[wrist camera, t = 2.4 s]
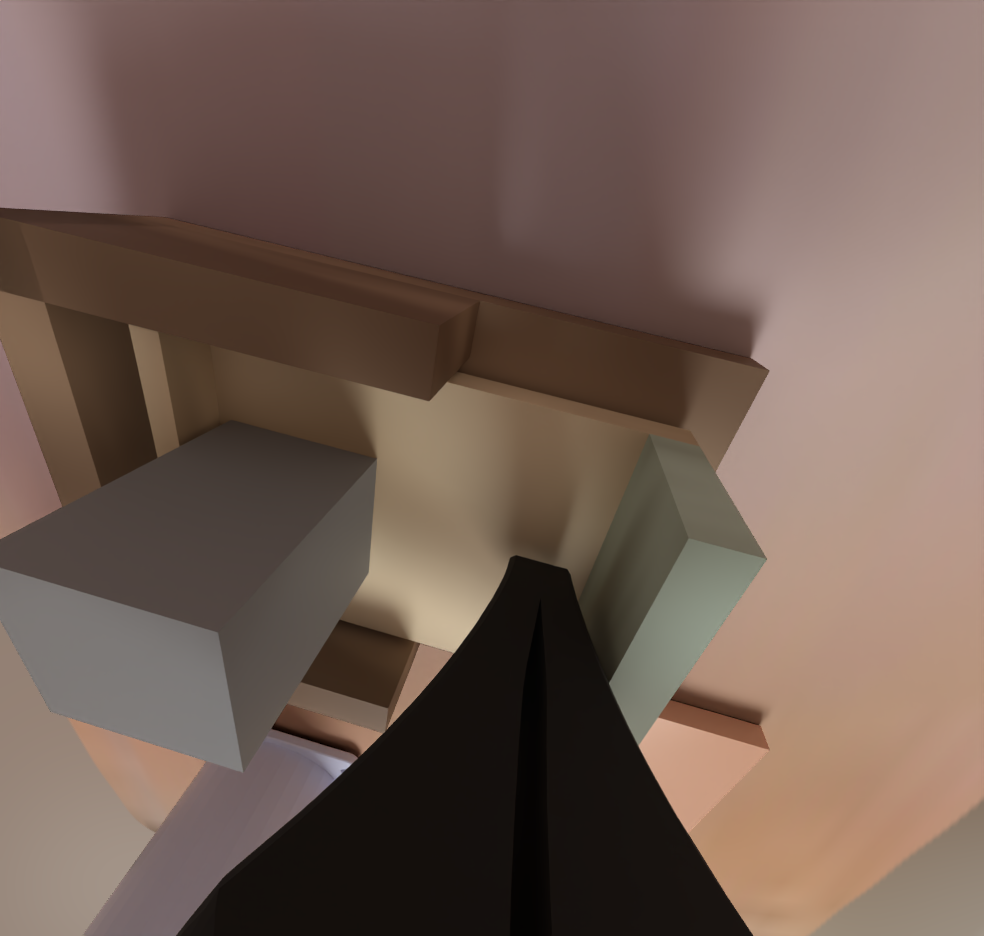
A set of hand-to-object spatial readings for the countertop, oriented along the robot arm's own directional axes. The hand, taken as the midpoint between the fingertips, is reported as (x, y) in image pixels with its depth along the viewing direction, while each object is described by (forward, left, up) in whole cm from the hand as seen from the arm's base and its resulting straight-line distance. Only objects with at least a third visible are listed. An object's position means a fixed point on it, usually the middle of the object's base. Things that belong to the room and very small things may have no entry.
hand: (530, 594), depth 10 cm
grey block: (0, +6, -1) cm, 6 cm away
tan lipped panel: (0, +3, -2) cm, 4 cm away
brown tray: (0, +4, -3) cm, 5 cm away
